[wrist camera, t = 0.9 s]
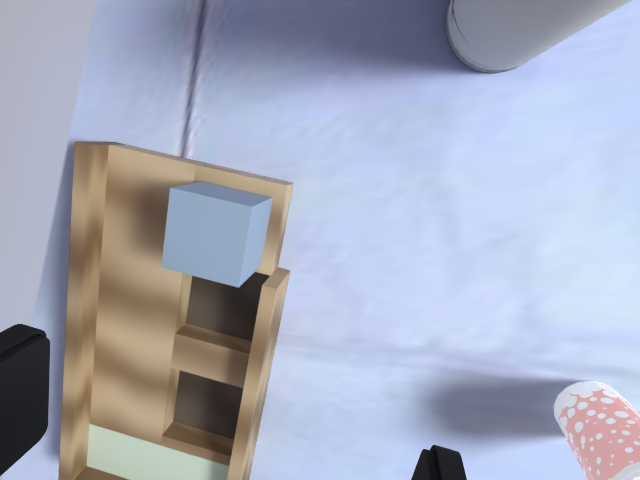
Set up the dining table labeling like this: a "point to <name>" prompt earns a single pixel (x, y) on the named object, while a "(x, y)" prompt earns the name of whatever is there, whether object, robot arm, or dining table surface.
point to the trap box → (162, 317)
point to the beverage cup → (600, 430)
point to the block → (215, 232)
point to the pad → (146, 459)
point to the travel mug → (516, 28)
